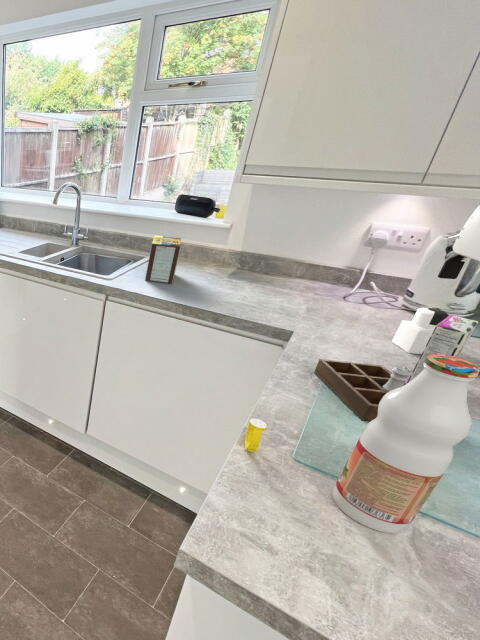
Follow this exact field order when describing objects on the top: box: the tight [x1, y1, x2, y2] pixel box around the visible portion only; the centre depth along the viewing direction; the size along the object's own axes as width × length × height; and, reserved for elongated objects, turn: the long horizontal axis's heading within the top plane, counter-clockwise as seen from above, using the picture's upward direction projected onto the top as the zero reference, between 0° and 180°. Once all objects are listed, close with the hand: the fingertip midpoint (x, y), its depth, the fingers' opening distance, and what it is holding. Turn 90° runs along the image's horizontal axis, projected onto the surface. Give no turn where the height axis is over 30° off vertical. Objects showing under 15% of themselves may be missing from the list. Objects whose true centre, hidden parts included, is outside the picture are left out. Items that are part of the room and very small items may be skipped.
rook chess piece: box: [382, 364, 413, 391], centre depth 93 cm, size 4×4×8 cm
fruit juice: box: [332, 354, 480, 534], centre depth 61 cm, size 9×9×28 cm
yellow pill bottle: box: [244, 418, 268, 453], centre depth 79 cm, size 6×3×6 cm, turn 150°
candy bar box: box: [406, 314, 479, 384], centre depth 98 cm, size 11×5×16 cm, turn 122°
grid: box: [313, 358, 407, 423], centre depth 94 cm, size 13×20×4 cm
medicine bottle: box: [391, 306, 450, 355], centre depth 115 cm, size 7×7×12 cm
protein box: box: [144, 234, 182, 285], centre depth 170 cm, size 10×15×16 cm
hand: (464, 285), depth 88 cm, fingers open, 9 cm apart
